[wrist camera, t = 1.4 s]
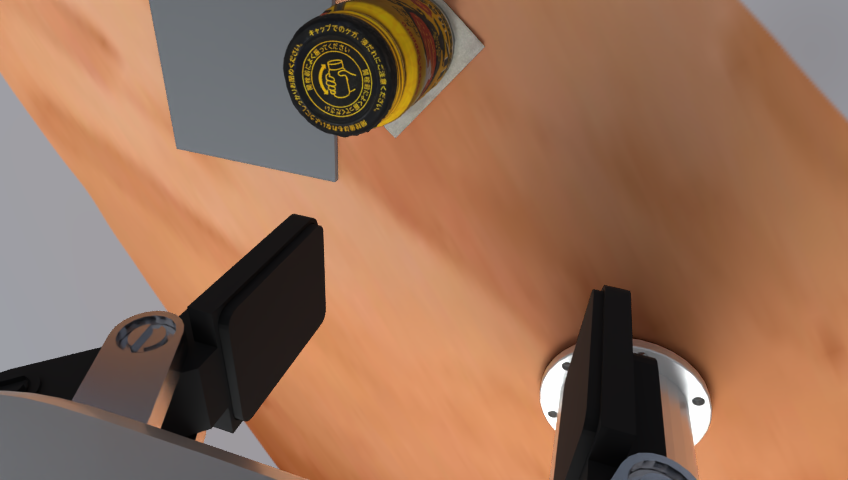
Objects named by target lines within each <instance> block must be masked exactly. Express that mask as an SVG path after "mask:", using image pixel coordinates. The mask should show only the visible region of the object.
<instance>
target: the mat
mask: <svg viewBox="0 0 848 480" xmlns="http://www.w3.org/2000/svg"><path fill="white" fill-rule="evenodd" d="M149 3H150V8H151V14H152V19H153V24H154V30H155V35H156V40H157V46H158V51H159V56H160V62H161V67H162V72H163V78H164V83H165V89H166V94H167V99H168V105H169V110H170V115H171V121H172V126H173V131H174V137H175V142H176V147H177V149H181V150H186V151H190V152H195V153H200V154H205V155H209V156H214V157H219V158H224V159H228V160H233V161H238V162H242V163H247V164H252V165H257V166H261V167H266V168H271V169H276V170H280V171H285V172H290V173H295V174H299V175H304V176H309V177H313V178H318V179H323V180H328V181H332V182H336V181H337V180H338V146H337V135H333V134H327V133H325V132H323V131H320V130H319V129H317V128H316V127H314V126H313V125H311V124H310V123H309V122H308V121H307V120H306V119H305V118H304V117H303V116H302V115H301V114H300V113H299V112H298V110H297V109H296V108H295V106H294V105H293V103H292V101H291V98H290V95H289V92H288V90H287V87H286V82H285V77H284V72H283V61H284V56H285V52H286V49H287V46H288V44H289V43H290V41H291V39H292V38H293V36H294V34H295V33H296V31H297V30H298V29H299V28H300V27H302V26H303V25H304V24H305V23H307V22H308V21H310V20H311V19H313V18H315V17H317V16H320V15H321V14H322V13H323V12H324V11H325V10H326V9H328V8H330V7H331V6H332V5H335V0H149Z"/></svg>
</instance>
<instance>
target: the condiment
mask: <svg viewBox="0 0 848 480" xmlns="http://www.w3.org/2000/svg"><path fill="white" fill-rule="evenodd" d="M484 47H485V46H484V45H483V44H482V43H481V42H480V41H479V40H478V38H477V37H476V36H475V35H474V34H473V33H472V32H471V31H470V29H469V28H468V27H467V26H466V25H465V24H464V23H463V22H462V21H461V20H460V18H459V17H458V16H457V15H456V14H455V13H454V12H453V11H452V10H451V8H450V7H449V6H448V5H447V4H446V3H445V2H444V1H443V0H351V1H346V2H341V3H339V4H335V5H332V6H331V7H330V8H328V9H326V10H325V11H324V12H323V13H322V14H321V15H320V16H317V17H315V18H313V19H311V20H310V21H308V22H307V23H305V24H304V25H303V26H302V27H300V28H299V29H298V30H297V31H296V33H295V34H294V36H293V38H292V39H291V41H290V43H289V44H288V46H287V49H286V52H285V56H284V61H283V72H284V77H285V82H286V87H287V90H288V92H289V95H290V98H291V101H292V103H293V105H294V106H295V108H296V109H297V110H298V112H299V113H300V114H301V115H302V116H303V117H304V118H305V119H306V120H307V121H308V122H309V123H310V124H311V125H313V126H314V127H316V128H317V129H319V130H320V131H323V132H325V133H327V134H333V135H337V136H341V137H348V136H352V135H353V136H358V135H359V134H362V133H364V132H369V131H370V130H371V129H372V128H376V127H381V126H384V127H385V128H386V129H387V130H388V131H389V132H390V133H391V134H392V135H393V136H394V137H395V138H396V137H397V136H398V135H399V134H400V133H401V132H402V131H403V130H404V129H405V128H406V127H407V126H408V125H409V124H410V123H411V122H412V121H413V120H414V119H415V118H416V117H417V116H418V114H419V113H421V112H422V111H423V110H424V109H425V108H426V106H427V105H428V104H429V103H430V102H431V101H432V100H433V99H434V98H435V97H436V96H437V95H438V94H439V93H440V92H441V91H442V90H443V89H444V88H445V87H446V86H447V85H448V84H449V83H450V82H451V81H452V80H453V79H454V78H455V77H456V76H457V75H458V74H459V73H460V72H461V71H462V70H463V69H464V68H465V67H466V65H467V64H468V63H469V62H470V61H471V60H472V59H473V58H474V57H475V56H476V55H477V54H478V53H479V52H480V51H481V50H482V49H483V48H484Z"/></svg>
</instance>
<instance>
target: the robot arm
mask: <svg viewBox="0 0 848 480" xmlns="http://www.w3.org/2000/svg"><path fill="white" fill-rule="evenodd" d="M187 308H188V309H187V310H186V311H184V312H183V313H182V314H181V315H180V316H179V317H178V316H177V315H176V314H173V313H170V312H165V311H152V312H145V313H141V314H138V315H134V316H132V317H130V318H128V319H126V320H124V321H122V322H121V323H120V324H118V325H117V326H115V328H114V329H113V330H112V331H111V332H110V334H109V335H108V337H107V339H106V341H105V343H104V344H103V346H102V347H100V348H97V349H92V350H88V351H84V352H79V353H76V354H71V355H67V356H63V357H59V358H55V359H51V360H46V361H42V362H38V363H34V364H30V365H26V366H22V367H18V368H14V369H10V370H7V371H4V372H1V373H0V480H308V479H305V478H302V477H299V476H297V475H294V474H291V473H288V472H285V471H282V470H279V469H276V468H274V467H271V466H267V465H265V464H262V463H259V462H256V461H253V460H250V459H248V458H245V457H242V456H239V455H236V454H233V453H230V452H227V451H224V450H221V449H218V448H216V447H213V446H210V445H207V444H204V443H203V442H204V439H205V435H206V430H208V429H211V428H212V427H216V428H219V429H222V430H225V431H228V432H230V433H234V432H235V430H236V429H237V428H238V426H239V425H240V424H241V422H242V421H249V420H250V419H251V418H252V417H253V415H254V414H255V413H256V411H257V410H258V409H259V407H260V406H261V405H262V403H263V402H264V401H265V399H266V398H267V397H268V395H269V394H270V393H271V391H272V390H273V388H274V387H275V386H276V384H277V383H278V382H279V380H280V379H281V378H282V376H283V375H284V374H285V372H286V371H287V370H288V368H289V367H290V366H291V364H292V363H293V362H294V360H295V359H296V357H297V356H298V355H299V353H300V352H301V351H302V349H303V348H304V347H305V345H306V344H307V343H308V341H309V340H310V339H311V337H312V336H313V335H314V333H315V332H316V330H317V329H318V328H319V326H320V325H321V324H322V322H323V320H324V317H325V313H326V300H325V269H324V239H323V228H322V227H321V226H319V225H318V223H317V221H316V219H314V218H310V217H306V216H301V215H297V214H292V215H291V216H289V217H288V218H287V219H286V220H285V221H284V222H282V223H281V224H280V225H279V226H278V227H277V228H276V229H275V230H273V231H272V232H271V233H270V234H269V235H268V236H267V237H266V238H264V239H263V240H262V241H261V242H260V243H259V244H258V245H257V246H255V247H254V248H253V249H252V250H251V251H250V252H249V253H248V254H246V255H245V256H244V257H243V258H242V259H241V260H240V261H239V262H237V263H236V264H235V265H234V266H233V267H232V268H231V269H230V270H228V271H227V272H226V273H225V274H224V275H223V276H222V277H221V278H219V279H218V280H217V281H216V282H215V283H214V284H213V285H212V286H210V287H209V288H208V289H207V290H206V291H205V292H204V293H203V294H201V295H200V296H199V297H198V298H197V299H196V300H195V301H194V302H192V303H191V304H190V305H189V306H188V307H187ZM540 403H541V407H542V411H543V413H544V415H545V417H546V419H547V421H548V422H549V424H550V425H551V426H552V427H553V429H554V430H555V437H554V445H553V454H552V462H551V470H550V478H549V480H699V474H698V467H697V461H696V454H695V447H694V445H696V444H697V443H698V442H699V441H700V440H701V439H702V438H703V436H704V435H705V433H706V432H707V430H708V428H709V425H710V422H711V417H712V405H711V400H710V394H709V392H708V389H707V386H706V384H705V382H704V380H703V379H702V377H701V376H700V374H699V373H698V372H697V370H696V369H695V368H693V367H692V366H691V365H690V364H689V363H688V362H687V361H686V360H685V359H683V358H682V357H680V356H679V355H677V354H675V353H674V352H672V351H670V350H668V349H666V348H664V347H661V346H659V345H657V344H653V343H650V342H646V341H643V340H638V339H632V314H631V293H630V291H628V290H624V289H619V288H615V287H611V286H606V285H604V286H603V288H602V291H599V290H595V289H593V290H592V293H591V296H590V299H589V303H588V306H587V309H586V313H585V316H584V319H583V322H582V326H581V329H580V332H579V336H578V339H577V342H576V344H575V345H573V346H571V347H569V348H567V349H566V350H564V351H562V352H561V353H560V354H559V355H557V356H556V357H555V358H554V359H553V360H552V361H551V362H550V364H549V365H548V366H547V368H546V370H545V372H544V374H543V377H542V381H541V387H540Z"/></svg>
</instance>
